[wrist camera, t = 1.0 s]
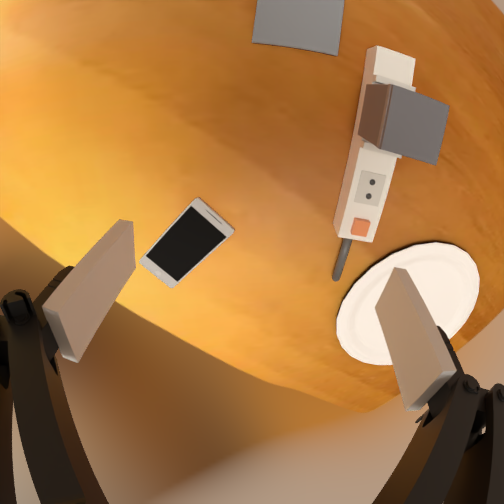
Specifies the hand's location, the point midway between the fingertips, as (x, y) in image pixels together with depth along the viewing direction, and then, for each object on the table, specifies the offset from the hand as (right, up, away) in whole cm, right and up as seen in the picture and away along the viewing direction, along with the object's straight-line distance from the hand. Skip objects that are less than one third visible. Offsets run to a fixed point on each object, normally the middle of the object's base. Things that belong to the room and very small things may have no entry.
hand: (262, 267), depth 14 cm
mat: (+5, +29, +11) cm, 31 cm away
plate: (+28, -9, +33) cm, 45 cm away
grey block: (+14, +16, +14) cm, 25 cm away
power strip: (+14, +11, +21) cm, 28 cm away
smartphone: (-11, +2, +30) cm, 32 cm away
